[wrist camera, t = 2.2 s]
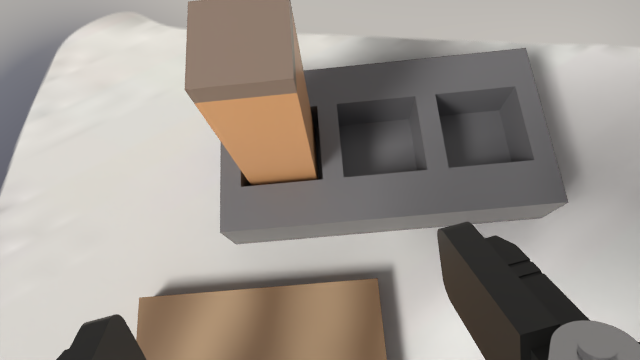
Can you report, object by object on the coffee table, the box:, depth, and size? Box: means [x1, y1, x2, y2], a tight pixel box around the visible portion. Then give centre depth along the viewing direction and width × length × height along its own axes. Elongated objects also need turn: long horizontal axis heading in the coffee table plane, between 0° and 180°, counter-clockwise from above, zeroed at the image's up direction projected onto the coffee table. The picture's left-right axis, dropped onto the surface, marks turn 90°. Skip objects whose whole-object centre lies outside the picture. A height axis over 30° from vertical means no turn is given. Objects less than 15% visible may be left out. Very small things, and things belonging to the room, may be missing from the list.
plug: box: [185, 0, 319, 186], centre depth 22 cm, size 4×4×13 cm
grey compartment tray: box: [220, 48, 568, 244], centre depth 27 cm, size 19×10×4 cm, turn 94°
